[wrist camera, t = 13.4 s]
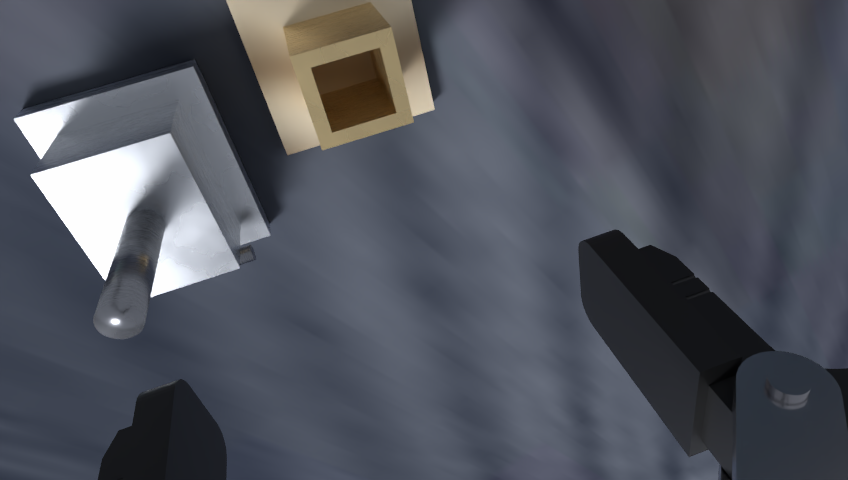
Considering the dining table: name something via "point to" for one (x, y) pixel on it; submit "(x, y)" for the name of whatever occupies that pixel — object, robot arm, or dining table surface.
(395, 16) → the beige pad
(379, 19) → the collar
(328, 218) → the dining table surface
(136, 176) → the block
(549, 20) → the dining table surface
